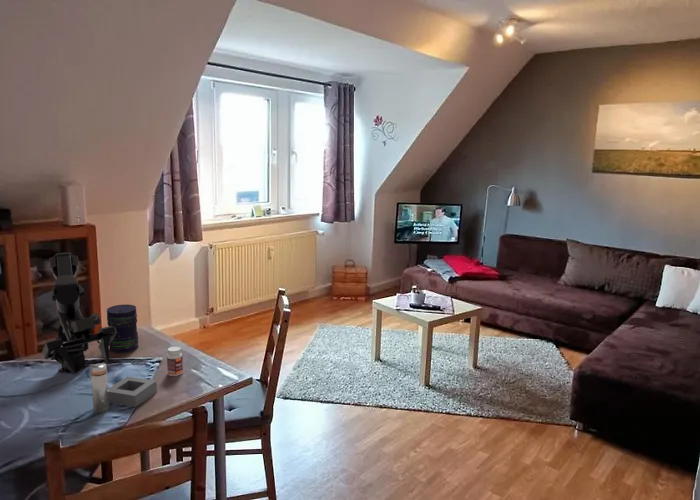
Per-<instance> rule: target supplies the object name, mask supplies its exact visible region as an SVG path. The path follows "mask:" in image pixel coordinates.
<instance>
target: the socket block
mask: <svg viewBox="0 0 700 500" xmlns="http://www.w3.org/2000/svg"><path fill="white" fill-rule="evenodd" d="M157 392H158V386H157V380H155V379H154V380H153V379H146V378H141V377H134V376H128V375H127V376H126V377H124V378H123V379H121V380H120V381H118V382H116V383H115V384H113V385H112V386H110V387H108V394H109V404H112V405H120V406H127V407H131V408H136V407H138V406H139V405H141V404H142V403H144V402H145V401H146V400H148V399H149V398H150V397H151V396H153V395H155V393H157Z"/></svg>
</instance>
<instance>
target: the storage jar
mask: <svg viewBox="0 0 700 500" xmlns="http://www.w3.org/2000/svg"><path fill="white" fill-rule="evenodd" d="M106 315H107V316H106V322H107V323H106V324H107V327H109V326H113V327H115V329H116V331H117V334H116V336H115V337H114V339H113V341H112V342H110V344H109V353H113V354H128V353H131V352H134V351H136V350H138V349H139V346H140V345H139V333H138V330H137V323H138V312H137V306H136V305H134V304H127V303H126V304H116V305H113V306H110V307H107V309H106Z"/></svg>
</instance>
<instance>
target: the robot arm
mask: <svg viewBox="0 0 700 500" xmlns="http://www.w3.org/2000/svg"><path fill="white" fill-rule="evenodd" d="M78 257H79V256H78V255H75V254H73V253H72V252H57V253H56V254H54V255H53V256H52V257H49V258H48V259H49V269H50V271H51V272H52V274H53V278H54V279H55V280H54V281H53V284H54V286H53V287H51V297H52V298H51V299H52V301H53V302H54V301H55V303H56V309H55V312H56V315H57V317H58V319H59V322H60V323H61V325H59V326H58V329H57V336H55V339H51V340H47V341H46V342H45V344H44V347H43V348H42V355H43V358H44V359H45V360H48V359H50V360H51V361H56V362H57V363H59V364H61V367H60V368H58V369H57V371H58V372H61V373H67V374H73V375H74V374H77V373H79V372H81V371H82V370H84V369H86V368H87V367H89V364H88V363H86V356H85V354H84V352H87V351H88V350H89V344H90V343H92V342H97V344H99V345H98V349H99V351H100V353H101V356H102V358H103V360H104V362H105V364H109V363H110V346H109V344H110V342H112V341H113V339H114V337H115V336H116V334H117V331H116V329H115V327H113V326H105V327H100V328H99V330H98V332H97V333H94V334H92V333H93V332H94V331H93V329H95V328H96V326H97V325H100V324H101V319H100V316H99V314H98V312H96V313H91V314H89V315H88V317H85V316H83V314H82V312H81V310H80V299H81V298H83V297H84V296H85V292H84V288H83V287H82V285H81V284H79V281H78V278H77V274H78V271H77V270H78V269H79V268H80V267H79V258H78Z"/></svg>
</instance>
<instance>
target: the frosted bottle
mask: <svg viewBox="0 0 700 500" xmlns="http://www.w3.org/2000/svg"><path fill="white" fill-rule="evenodd" d="M89 372H90V380H91V393H92V405H93V413H95V414H99V415H100V414H104V413H106V412H109V411H110V403H109V394H108V388H109V380H108V367H107V363H104V362H101V363H95V364H91V365H90V369H89Z"/></svg>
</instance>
